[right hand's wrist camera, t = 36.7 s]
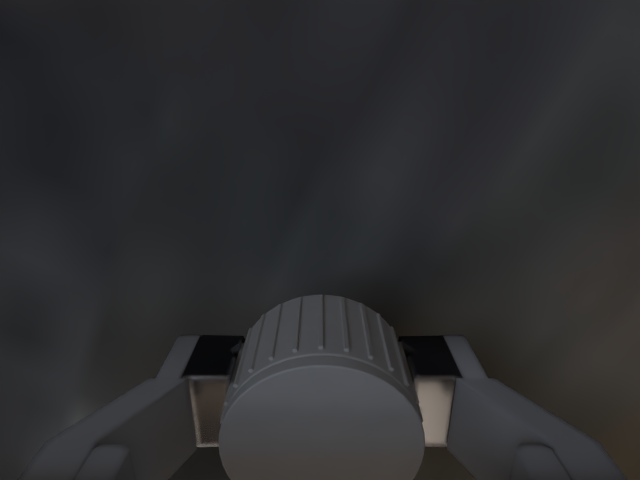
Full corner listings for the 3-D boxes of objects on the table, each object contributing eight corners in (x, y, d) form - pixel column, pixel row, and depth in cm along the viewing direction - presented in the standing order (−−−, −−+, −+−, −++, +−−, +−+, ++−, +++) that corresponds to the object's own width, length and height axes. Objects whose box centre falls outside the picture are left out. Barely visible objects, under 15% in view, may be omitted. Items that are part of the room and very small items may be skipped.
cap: (438, 356, 10) (473, 442, 8) (328, 451, 11) (330, 550, 9) (312, 257, 9) (309, 321, 7) (206, 370, 10) (173, 458, 8)
